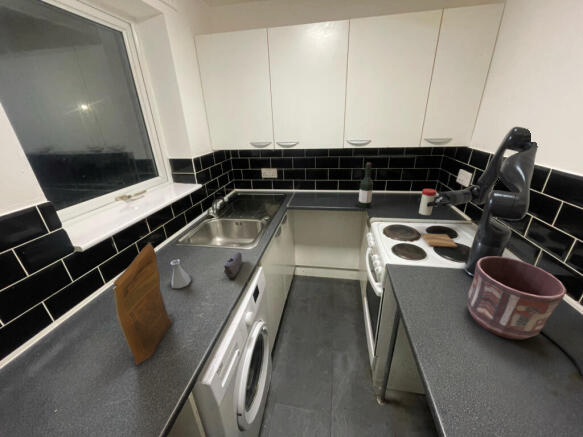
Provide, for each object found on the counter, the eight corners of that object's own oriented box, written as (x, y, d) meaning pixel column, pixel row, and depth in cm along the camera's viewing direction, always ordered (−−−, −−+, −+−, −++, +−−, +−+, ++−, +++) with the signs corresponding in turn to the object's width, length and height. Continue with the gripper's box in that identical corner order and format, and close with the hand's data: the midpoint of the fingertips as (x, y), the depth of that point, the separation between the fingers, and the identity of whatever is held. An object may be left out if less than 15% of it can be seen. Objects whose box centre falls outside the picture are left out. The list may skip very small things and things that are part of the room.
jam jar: (432, 215, 114) (437, 193, 109) (420, 215, 115) (425, 193, 110) (428, 211, 119) (433, 189, 114) (417, 210, 120) (421, 189, 115)
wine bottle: (369, 204, 162) (373, 161, 150) (371, 208, 155) (377, 164, 142) (357, 204, 163) (360, 161, 151) (359, 208, 155) (363, 164, 143)
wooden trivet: (457, 247, 107) (458, 246, 107) (429, 246, 109) (430, 245, 109) (446, 235, 118) (446, 234, 117) (421, 234, 120) (421, 233, 119)
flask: (169, 290, 87) (162, 269, 83) (173, 279, 94) (166, 258, 89) (189, 286, 89) (184, 265, 85) (192, 275, 95) (186, 255, 91)
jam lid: (437, 195, 110) (438, 192, 109) (424, 195, 111) (425, 192, 110) (432, 192, 115) (433, 188, 114) (420, 192, 116) (420, 188, 115)
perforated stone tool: (235, 259, 105) (233, 246, 102) (246, 260, 104) (245, 247, 101) (222, 281, 91) (219, 266, 88) (234, 282, 90) (232, 267, 87)
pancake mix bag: (183, 312, 77) (161, 240, 65) (150, 370, 59) (111, 285, 48) (163, 313, 77) (138, 240, 66) (124, 370, 60) (80, 285, 48)
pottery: (454, 323, 69) (470, 274, 62) (467, 293, 80) (482, 249, 73) (536, 363, 58) (569, 309, 50) (538, 321, 69) (565, 272, 61)
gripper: (440, 187, 122) (413, 191, 119) (465, 195, 109) (435, 200, 106) (437, 201, 125) (411, 204, 122) (461, 210, 112) (432, 214, 109)
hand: (422, 202), depth 114 cm, fingers closed on jam jar, 5 cm apart
